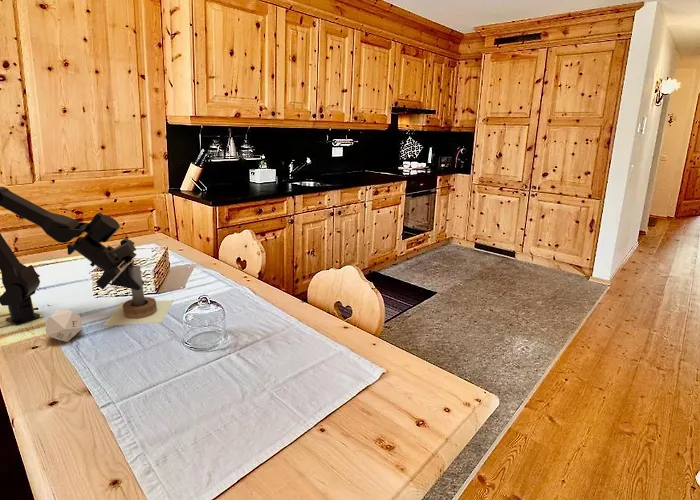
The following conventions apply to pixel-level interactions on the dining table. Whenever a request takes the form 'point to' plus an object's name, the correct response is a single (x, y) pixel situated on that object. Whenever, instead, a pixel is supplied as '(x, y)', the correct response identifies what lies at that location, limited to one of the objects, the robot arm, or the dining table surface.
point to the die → (63, 325)
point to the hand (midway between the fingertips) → (141, 286)
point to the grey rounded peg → (136, 276)
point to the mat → (157, 317)
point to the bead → (139, 309)
